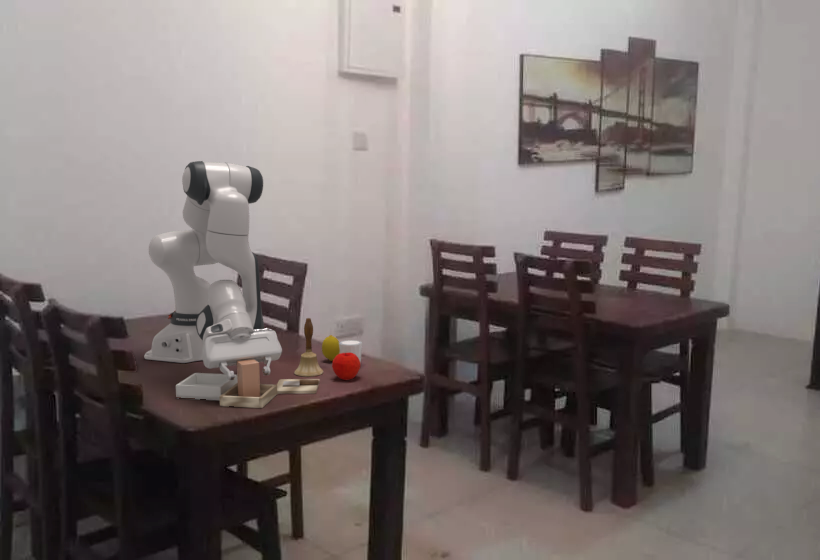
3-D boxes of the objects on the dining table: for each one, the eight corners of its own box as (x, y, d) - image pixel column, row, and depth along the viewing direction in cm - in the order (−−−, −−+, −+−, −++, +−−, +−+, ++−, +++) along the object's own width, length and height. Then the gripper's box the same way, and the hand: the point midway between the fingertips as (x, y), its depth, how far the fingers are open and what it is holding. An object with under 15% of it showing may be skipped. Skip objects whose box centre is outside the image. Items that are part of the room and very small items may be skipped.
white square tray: (176, 398, 215) (175, 385, 214) (195, 385, 226) (194, 372, 226) (220, 400, 213) (220, 387, 212) (237, 387, 225) (237, 374, 224)
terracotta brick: (238, 399, 214) (236, 361, 213) (254, 396, 216) (253, 359, 215) (243, 403, 210) (242, 365, 209) (260, 401, 212) (259, 362, 211)
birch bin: (219, 406, 208) (219, 396, 208) (237, 392, 220) (236, 383, 220) (262, 408, 207) (261, 398, 206) (277, 394, 218) (277, 384, 218)
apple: (349, 373, 239) (349, 347, 238) (366, 378, 233) (366, 352, 232) (326, 378, 234) (326, 352, 232) (343, 384, 228) (343, 357, 227)
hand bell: (327, 370, 242) (326, 316, 240) (318, 377, 234) (316, 321, 232) (300, 368, 244) (298, 314, 241) (290, 376, 236) (288, 320, 233)
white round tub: (339, 362, 250) (338, 339, 249) (362, 362, 251) (361, 339, 250) (339, 368, 244) (338, 345, 242) (362, 368, 244) (362, 344, 243)
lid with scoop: (273, 393, 219) (273, 385, 218) (279, 382, 229) (279, 374, 229) (316, 393, 219) (316, 385, 218) (320, 381, 230) (320, 374, 229)
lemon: (337, 363, 249) (337, 337, 248) (319, 362, 250) (319, 336, 249) (342, 359, 254) (342, 333, 253) (325, 358, 255) (324, 332, 254)
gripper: (271, 334, 226) (285, 377, 219) (196, 342, 216) (208, 388, 209) (276, 320, 222) (291, 364, 215) (200, 328, 212) (212, 375, 205)
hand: (249, 376), depth 212 cm, fingers open, 8 cm apart
